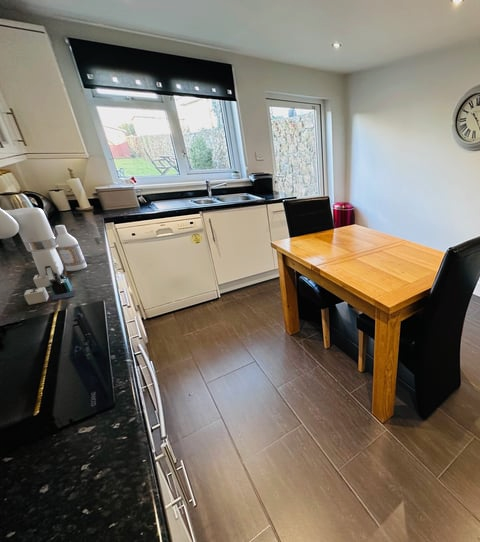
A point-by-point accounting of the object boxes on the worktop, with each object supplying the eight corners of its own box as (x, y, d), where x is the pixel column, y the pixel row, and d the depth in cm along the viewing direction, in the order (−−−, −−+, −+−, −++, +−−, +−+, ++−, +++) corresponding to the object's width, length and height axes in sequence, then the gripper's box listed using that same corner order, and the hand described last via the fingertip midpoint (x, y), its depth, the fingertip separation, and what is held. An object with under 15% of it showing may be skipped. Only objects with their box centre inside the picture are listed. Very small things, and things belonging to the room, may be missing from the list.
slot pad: (51, 301, 101) (51, 300, 101) (54, 294, 105) (53, 294, 105) (74, 296, 105) (74, 295, 105) (76, 290, 109) (75, 289, 109)
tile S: (53, 295, 102) (48, 285, 100) (55, 290, 105) (50, 280, 103) (70, 291, 104) (66, 281, 102) (72, 287, 107) (67, 277, 106)
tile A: (37, 288, 110) (32, 278, 108) (39, 284, 113) (35, 274, 111) (53, 285, 112) (49, 276, 111) (55, 281, 115) (51, 272, 114)
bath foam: (62, 272, 124) (43, 228, 116) (73, 266, 130) (55, 224, 122) (81, 271, 125) (63, 227, 118) (90, 265, 132) (74, 223, 124)
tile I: (28, 305, 98) (23, 294, 97) (31, 299, 101) (26, 289, 100) (47, 301, 101) (42, 291, 99) (49, 296, 104) (44, 286, 102)
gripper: (30, 240, 101) (51, 285, 108) (19, 253, 89) (44, 303, 96) (60, 236, 105) (78, 280, 113) (53, 248, 93) (74, 296, 101)
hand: (62, 290), depth 104 cm, fingers closed on tile S, 4 cm apart
